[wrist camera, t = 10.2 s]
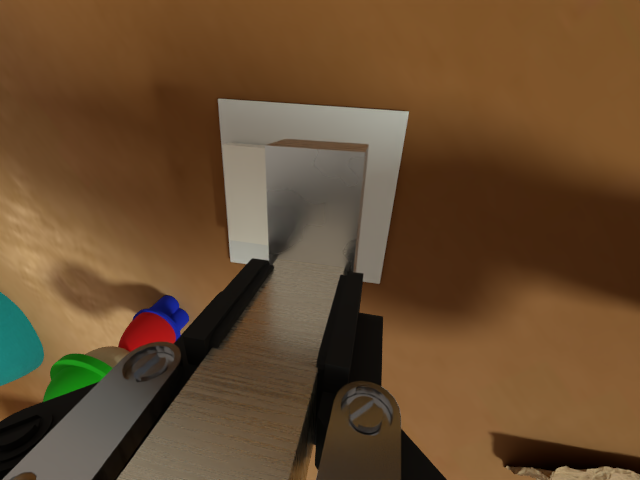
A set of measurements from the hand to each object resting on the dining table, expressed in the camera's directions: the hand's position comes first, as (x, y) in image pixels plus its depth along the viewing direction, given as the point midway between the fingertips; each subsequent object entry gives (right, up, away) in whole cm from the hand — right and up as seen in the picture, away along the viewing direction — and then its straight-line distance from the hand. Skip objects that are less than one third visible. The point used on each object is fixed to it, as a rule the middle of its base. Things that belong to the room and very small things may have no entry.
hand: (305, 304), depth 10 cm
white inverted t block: (+1, +1, +2) cm, 3 cm away
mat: (-1, +6, +18) cm, 19 cm away
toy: (-18, -7, +28) cm, 34 cm away
